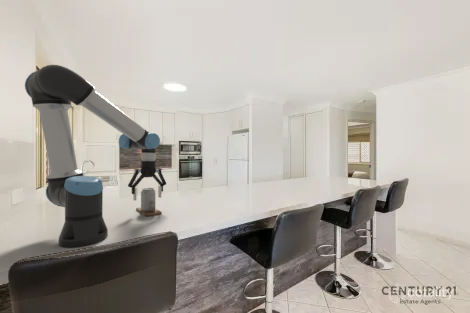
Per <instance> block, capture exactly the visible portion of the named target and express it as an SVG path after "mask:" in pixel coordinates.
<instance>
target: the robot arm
mask: <svg viewBox="0 0 470 313" xmlns="http://www.w3.org/2000/svg"><path fill="white" fill-rule="evenodd" d="M24 90H25V92H26V94H27V95H28V96H29V97H30V98H31V102H32V107H34V108H35V109H36V110H38V111H39V116H40V122H41V123H40V124H41V127H42V133H43V137H44V143H45V148H46V153H47V158H48V159H47V160H48V164H49V169H50V173H49V174H48V175H47V176H46V180H47V186H46V187H45V188H46V189H45V196H46V198H47V199H48V201H49V202H50V203H52V204H53V205H55V206H57V207H61V208H64V223H63V226H62V228H61V232H60V234H59V236H58V246H60V247H62V248H79V247H85V246H88V245H92V244H96V243H99V242H101V241H103V240H105V239H106V238H108V236H109V234H108V233H109V232H108V231H109V230H108V226H107V225H106V224H107V223H105V219H104V217H103V216H104V215H103V205H104V204H103V195H104V194H103V190H104V186H103V180H102V179H101V178H99V177H96V176H92V175H91V176H89V175H84V172H83V170H81V169H79V168H78V164H77V158H76V151H75V146H74V145H75V144H74V140H73V134H72V130H71V122H70V118H69V112H68V111H69V109H71V107H72V103H73V104H74V105H75V106H82V107H83V108H85V110H88V111H89V112H90V113H92V114H93V115H95V116H97V117H98V118H100V119H101V120H102V121H104V122H105V123H107V124H108V125H110V126H111V127H113V128H114V129H116V130H117V131H118V132H120V133H121V135H120V136H119V138H118V144H119V145H118V146H119V148H121V149H123V150H125V149H126V150H141V153H140V154H141V156H140V158H141V159H140V160H141V162H140V169H134V171H133V172H134V173H133V175H132V176H131V178H130V180H129V183H128V185H127V188H131V194H132V195H133V197H132V199H133V201H137V193H138V192H137V186H138V185H139V183H141V181H142V180H143V179H144V178H153V179H154V180H155V181H156V183H157V184H158V188H157V189H158V193H157V195H158V196H157V197H158V198H160V199H161V198H162V192H164V186H166V185H167V182H166V180H165V177H164V175H163V174H162V169H161V168H157V169H156V167H157V166H156V165H157V163H156V158H157V148H158V147H159V146H160V144H161V139H160V137H159V135H158V134H157V133H155V132H149V131H148V130H146V129H145V128H144V127H143V126H141V125H140V124H139V123H137V122H136V121H135V120H133V119H132V118H131V117H130V116H128V115H127V114H126V113H124V112H123V111H122V109H121V110H120V108H118V107H117V106H115V105H114V104H113V103H112V102H111V101H109V100H108V99H107V98H106V97H104V96H103V95H101V94H100V93H99V92H97V90H96V87H95V86H94V85H93V84H92V83H90V82H89V81H88V80H86V79H85V78H84V77H83V76H81V75H80V74H78V73H77V72H75V71H73V70H71V69H70V68H68V67H67V66H66V67H65V66H62V65H58V64H47V65H45V66H42V67H41V68H40V69H38V70H36V71H33V72H31V73H30V74H28V76H27V78H26V79H25V81H24ZM156 173H157V174H158V176H157V175H156ZM139 174H140V176H139V177H138V175H139ZM137 177H138V178H137ZM158 177H159V178H160V179H159V178H158Z"/></svg>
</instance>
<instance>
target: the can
mask: <svg viewBox="0 0 470 313" xmlns="http://www.w3.org/2000/svg"><path fill="white" fill-rule="evenodd" d="M150 201H155V202H156V190H155V188H154V187H145V188H144V187H143V188H142V189H141V191H140V208H141V209H142V210H143V211H150Z"/></svg>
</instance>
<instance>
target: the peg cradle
mask: <svg viewBox="0 0 470 313" xmlns="http://www.w3.org/2000/svg"><path fill="white" fill-rule="evenodd" d="M135 210H136V212H138V213H140V214H142V215H143V216H144V217H146V218H147V217H152V216H157V215H158V216H159V215H162V211H161V210H159V209H157V208H156V200H155V201H150V211H143V210H142V209H141V207H136V209H135Z"/></svg>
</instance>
